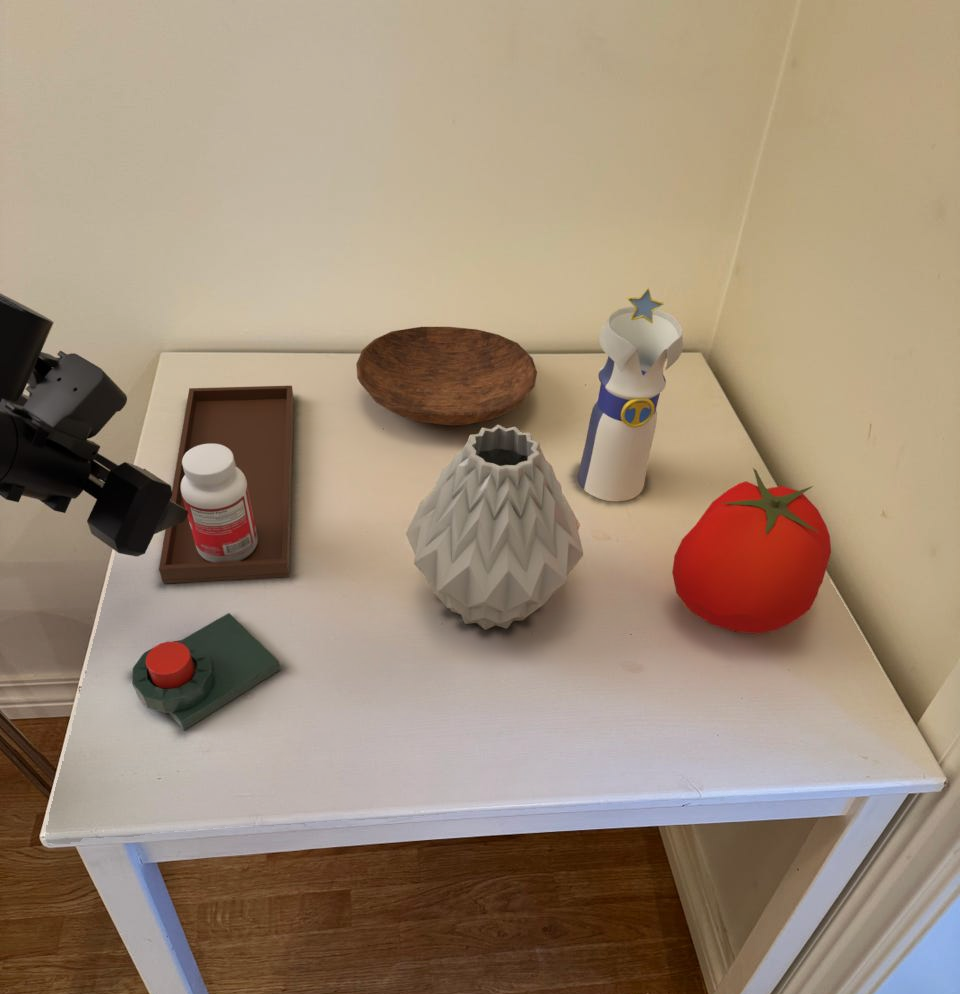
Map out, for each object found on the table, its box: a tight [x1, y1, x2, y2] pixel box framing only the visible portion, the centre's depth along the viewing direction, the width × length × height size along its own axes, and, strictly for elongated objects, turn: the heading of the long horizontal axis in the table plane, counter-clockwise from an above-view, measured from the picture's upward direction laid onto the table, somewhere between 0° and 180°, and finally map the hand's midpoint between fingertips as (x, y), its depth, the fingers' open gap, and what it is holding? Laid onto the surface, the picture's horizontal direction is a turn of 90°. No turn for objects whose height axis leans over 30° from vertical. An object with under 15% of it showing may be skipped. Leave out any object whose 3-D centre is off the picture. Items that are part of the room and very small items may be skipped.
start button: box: [146, 641, 195, 689], centre depth 73 cm, size 4×4×2 cm
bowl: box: [355, 326, 538, 426], centre depth 106 cm, size 20×22×5 cm
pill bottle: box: [181, 444, 258, 563], centre depth 83 cm, size 6×6×11 cm
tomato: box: [671, 467, 832, 635], centre depth 81 cm, size 16×14×14 cm
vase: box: [405, 424, 584, 631], centre depth 78 cm, size 16×16×18 cm
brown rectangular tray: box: [158, 385, 295, 585], centre depth 94 cm, size 31×12×2 cm, turn 7°
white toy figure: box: [577, 287, 684, 502], centre depth 89 cm, size 8×9×25 cm
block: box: [132, 612, 281, 731], centre depth 76 cm, size 11×8×3 cm
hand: (151, 493), depth 76 cm, fingers open, 9 cm apart
